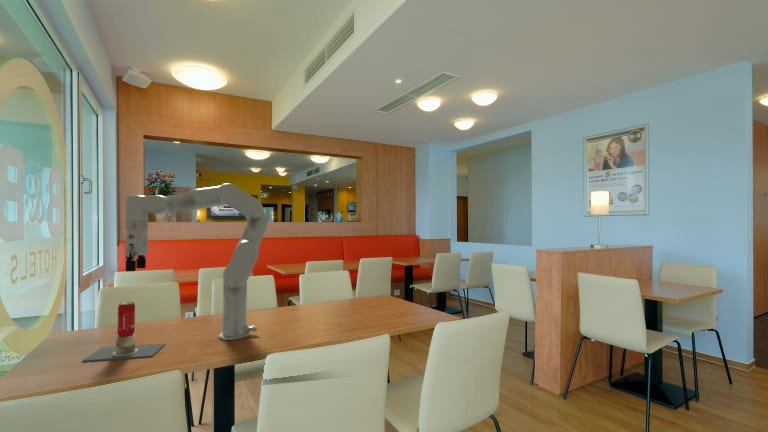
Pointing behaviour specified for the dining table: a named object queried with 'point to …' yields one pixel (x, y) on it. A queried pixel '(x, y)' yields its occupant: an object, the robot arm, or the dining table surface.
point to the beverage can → (126, 319)
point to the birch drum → (125, 345)
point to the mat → (110, 354)
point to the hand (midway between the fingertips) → (136, 269)
